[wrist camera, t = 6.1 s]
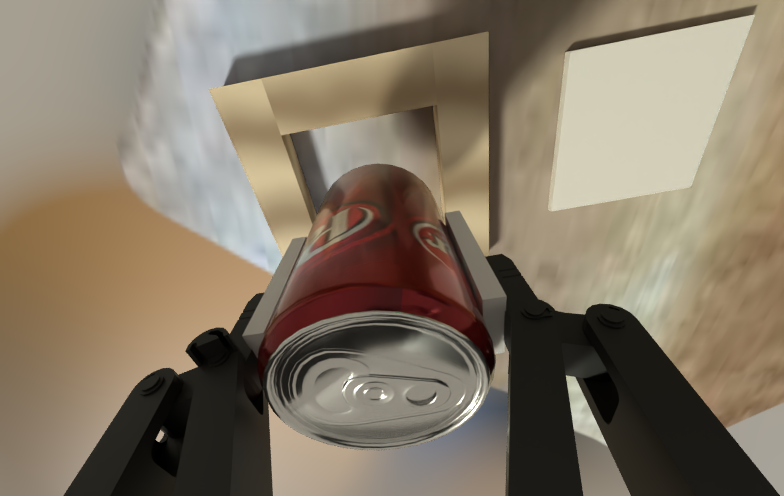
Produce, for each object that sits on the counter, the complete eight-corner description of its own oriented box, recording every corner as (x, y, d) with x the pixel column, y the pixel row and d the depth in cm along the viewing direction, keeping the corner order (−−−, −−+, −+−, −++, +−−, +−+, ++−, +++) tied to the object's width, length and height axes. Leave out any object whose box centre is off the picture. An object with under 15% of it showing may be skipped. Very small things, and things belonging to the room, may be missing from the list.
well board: (222, 87, 21) (208, 89, 19) (478, 34, 20) (488, 31, 18) (305, 286, 30) (301, 299, 28) (482, 256, 29) (489, 267, 27)
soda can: (318, 256, 20) (254, 449, 10) (326, 149, 16) (238, 283, 6) (421, 270, 21) (458, 461, 11) (450, 172, 17) (549, 321, 7)
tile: (565, 51, 20) (570, 51, 20) (745, 15, 20) (755, 14, 19) (547, 208, 27) (551, 211, 26) (684, 184, 26) (690, 187, 25)
